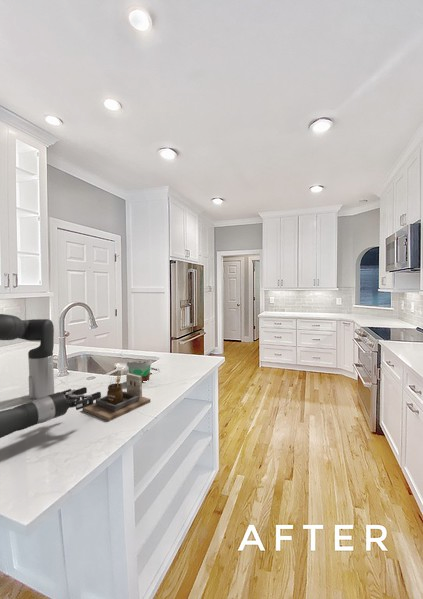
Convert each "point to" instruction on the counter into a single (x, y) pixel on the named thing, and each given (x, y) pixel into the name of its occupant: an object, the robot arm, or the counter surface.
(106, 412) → the charging dock
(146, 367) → the food container
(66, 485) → the counter surface
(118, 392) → the utensil holder
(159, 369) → the phone case
